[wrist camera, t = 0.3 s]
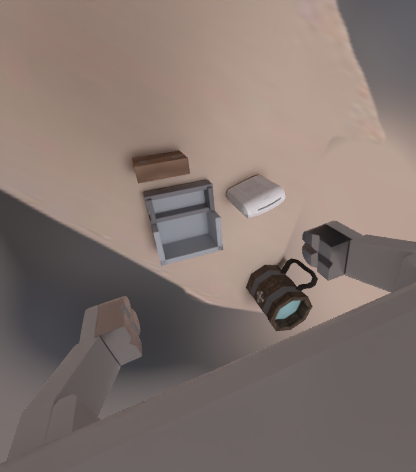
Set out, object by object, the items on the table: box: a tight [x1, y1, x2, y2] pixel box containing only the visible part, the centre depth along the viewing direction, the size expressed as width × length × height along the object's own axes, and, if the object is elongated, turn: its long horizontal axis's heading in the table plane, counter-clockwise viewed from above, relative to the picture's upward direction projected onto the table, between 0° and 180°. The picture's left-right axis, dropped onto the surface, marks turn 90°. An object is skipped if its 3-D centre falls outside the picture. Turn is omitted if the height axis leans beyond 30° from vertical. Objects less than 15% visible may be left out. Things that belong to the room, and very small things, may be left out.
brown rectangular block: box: [132, 151, 190, 183], centre depth 48 cm, size 3×10×8 cm, turn 96°
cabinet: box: [143, 180, 223, 266], centre depth 56 cm, size 15×15×8 cm
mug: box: [246, 259, 318, 331], centre depth 72 cm, size 20×14×15 cm
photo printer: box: [227, 175, 286, 218], centre depth 56 cm, size 10×4×12 cm, turn 111°
